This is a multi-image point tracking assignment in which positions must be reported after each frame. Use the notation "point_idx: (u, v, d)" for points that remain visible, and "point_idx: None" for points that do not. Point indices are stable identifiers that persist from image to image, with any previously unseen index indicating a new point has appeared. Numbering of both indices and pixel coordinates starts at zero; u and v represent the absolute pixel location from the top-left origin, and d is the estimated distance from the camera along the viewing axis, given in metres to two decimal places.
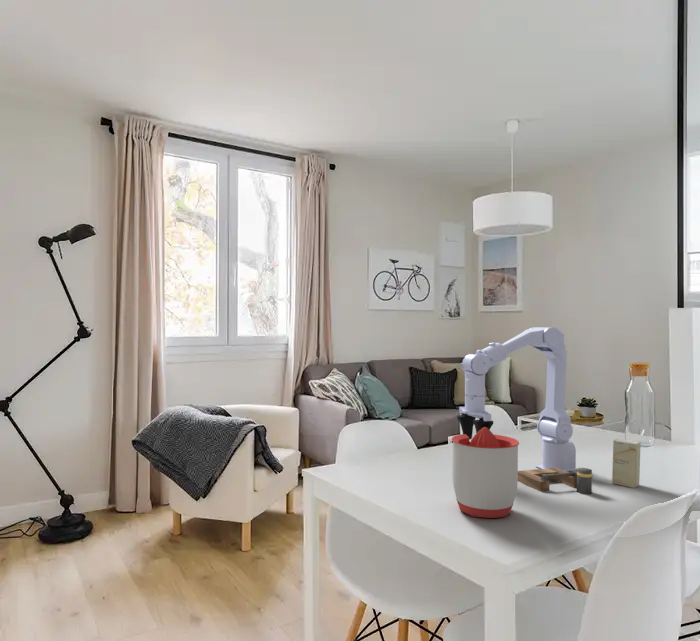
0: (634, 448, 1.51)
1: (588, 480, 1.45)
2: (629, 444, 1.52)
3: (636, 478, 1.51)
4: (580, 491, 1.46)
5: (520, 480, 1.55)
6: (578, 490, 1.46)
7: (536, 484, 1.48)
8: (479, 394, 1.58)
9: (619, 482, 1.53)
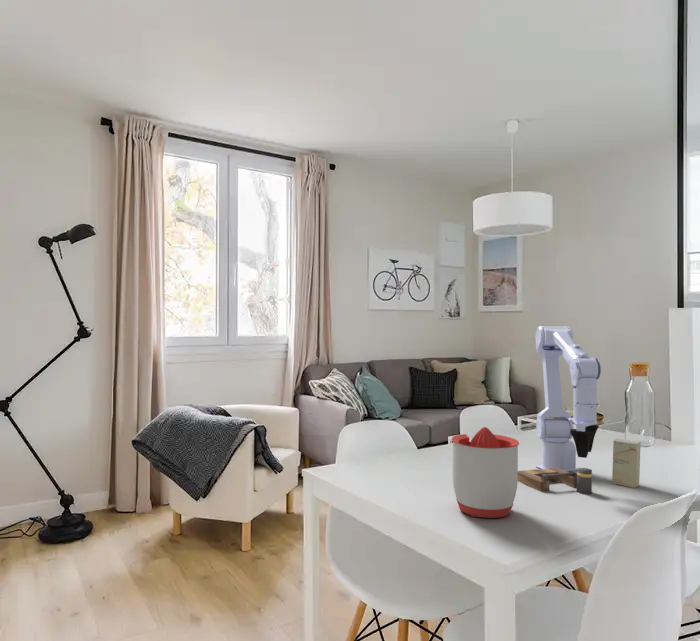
0: (634, 448, 1.51)
1: (588, 480, 1.45)
2: (629, 444, 1.52)
3: (636, 478, 1.51)
4: (580, 491, 1.46)
5: (520, 480, 1.55)
6: (578, 490, 1.46)
7: (536, 484, 1.48)
8: None
9: (619, 482, 1.53)
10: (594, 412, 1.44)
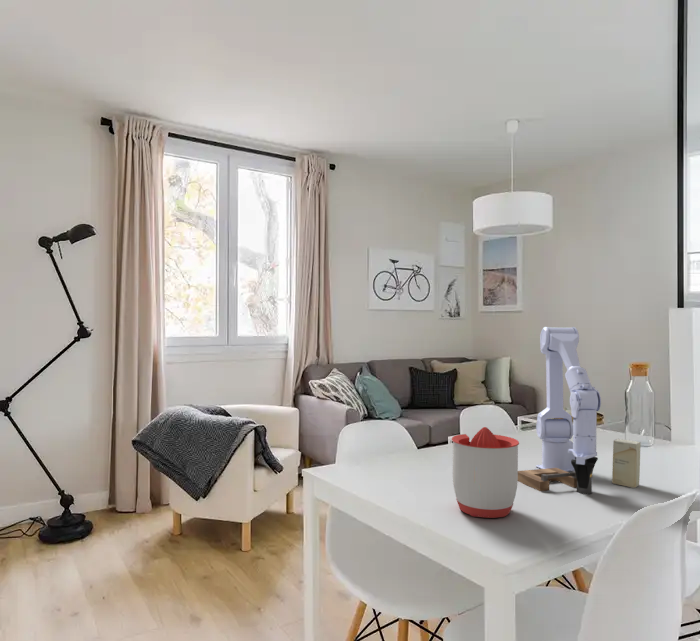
0: (634, 448, 1.51)
1: None
2: (629, 444, 1.52)
3: (636, 478, 1.51)
4: (580, 491, 1.46)
5: (520, 480, 1.55)
6: (578, 490, 1.46)
7: (536, 484, 1.48)
8: None
9: (619, 482, 1.53)
10: (594, 444, 1.44)
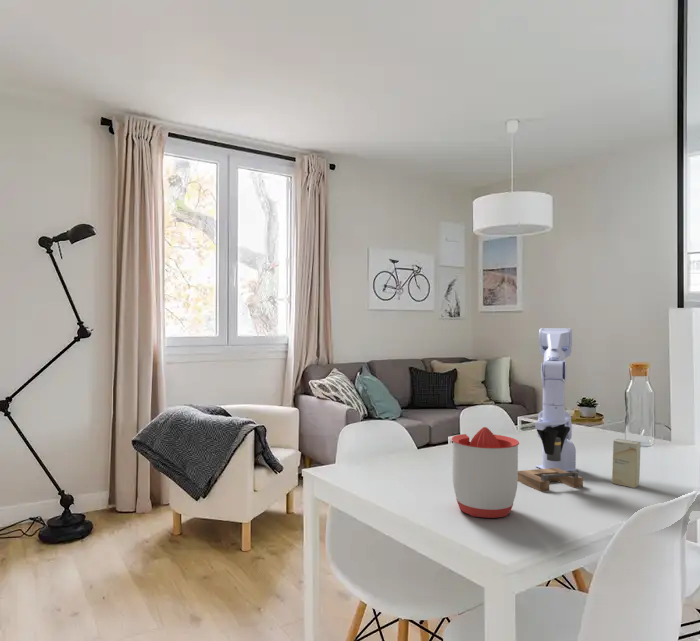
0: (634, 448, 1.51)
1: (555, 448, 1.51)
2: (629, 444, 1.52)
3: (636, 478, 1.51)
4: (548, 458, 1.52)
5: (520, 480, 1.55)
6: (547, 457, 1.53)
7: (536, 484, 1.48)
8: (564, 402, 1.52)
9: (619, 482, 1.53)
10: (559, 413, 1.50)
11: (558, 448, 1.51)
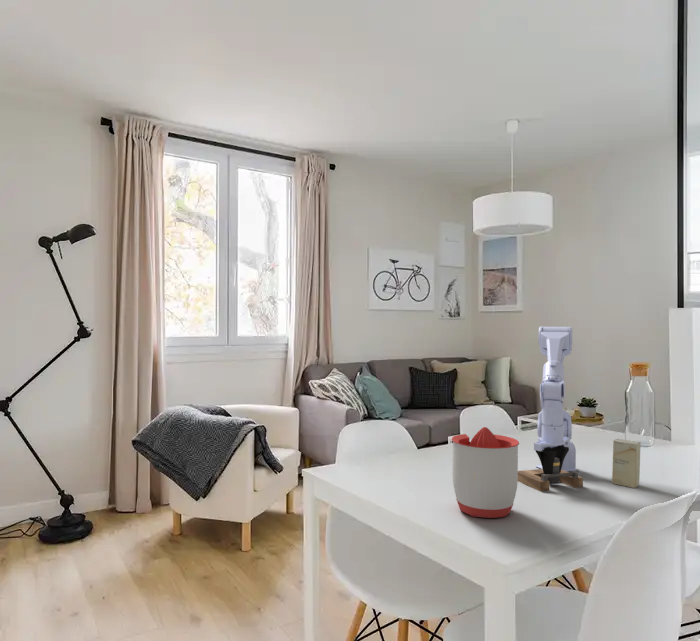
0: (634, 448, 1.51)
1: (553, 468, 1.51)
2: (629, 444, 1.52)
3: (636, 478, 1.51)
4: None
5: (520, 480, 1.55)
6: None
7: (536, 484, 1.48)
8: (563, 423, 1.52)
9: (619, 482, 1.53)
10: (558, 434, 1.50)
11: (557, 469, 1.51)
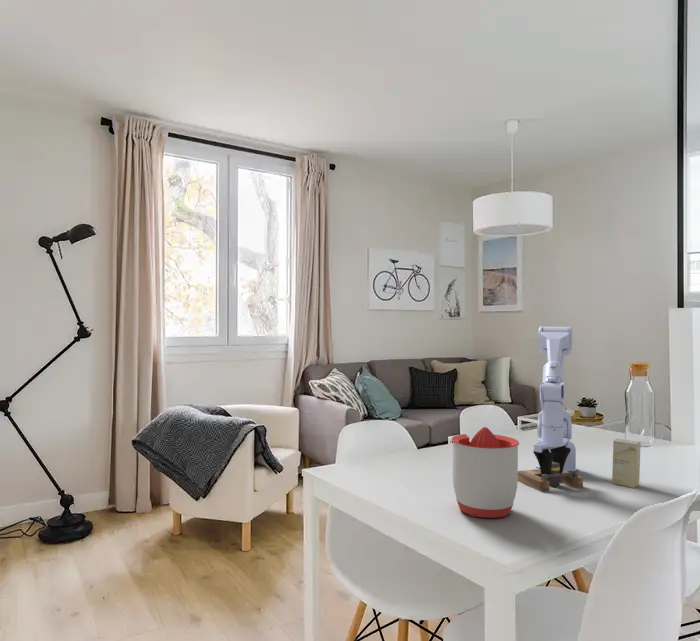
0: (634, 448, 1.51)
1: (554, 473, 1.51)
2: (629, 444, 1.52)
3: (636, 478, 1.51)
4: None
5: (520, 480, 1.55)
6: None
7: (536, 484, 1.48)
8: (563, 424, 1.52)
9: (619, 482, 1.53)
10: (558, 435, 1.50)
11: None
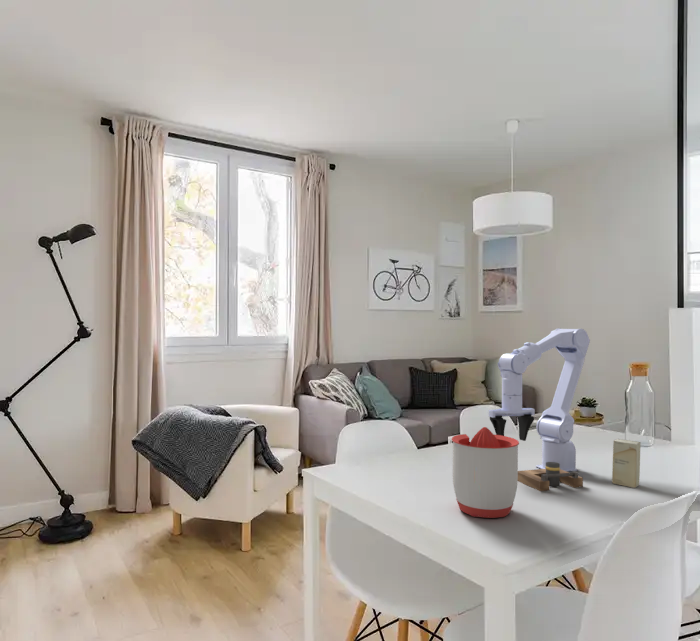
0: (634, 448, 1.51)
1: (554, 473, 1.51)
2: (629, 444, 1.52)
3: (636, 478, 1.51)
4: None
5: (520, 480, 1.55)
6: None
7: (536, 484, 1.48)
8: (518, 393, 1.59)
9: (619, 482, 1.53)
10: (513, 402, 1.58)
11: None
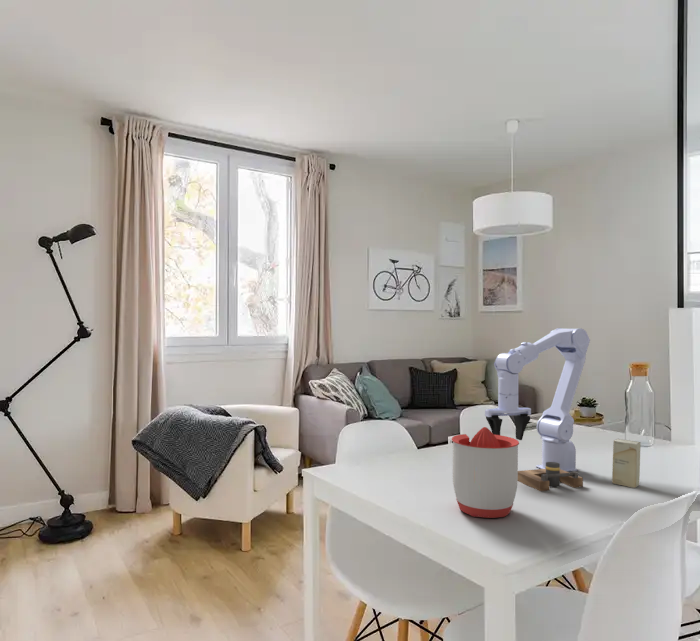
0: (634, 448, 1.51)
1: (554, 473, 1.51)
2: (629, 444, 1.52)
3: (636, 478, 1.51)
4: None
5: (520, 480, 1.55)
6: None
7: (536, 484, 1.48)
8: (514, 393, 1.59)
9: (619, 482, 1.53)
10: (509, 402, 1.59)
11: None
